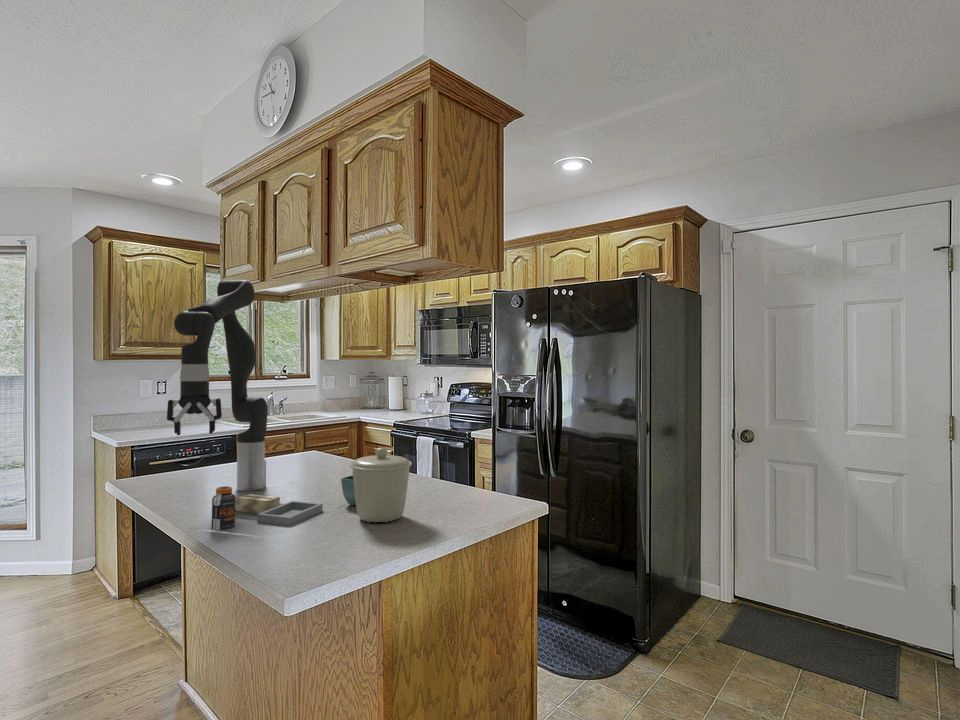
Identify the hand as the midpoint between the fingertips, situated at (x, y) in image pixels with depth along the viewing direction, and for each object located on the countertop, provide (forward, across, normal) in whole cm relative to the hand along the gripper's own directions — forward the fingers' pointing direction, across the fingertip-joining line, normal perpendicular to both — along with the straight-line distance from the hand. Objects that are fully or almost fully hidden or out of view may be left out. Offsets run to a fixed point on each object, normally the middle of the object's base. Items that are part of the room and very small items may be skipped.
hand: (194, 434), depth 163 cm
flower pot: (+25, -48, +1) cm, 54 cm away
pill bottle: (+25, -9, +14) cm, 30 cm away
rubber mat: (+25, -17, -1) cm, 30 cm away
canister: (+25, -52, +19) cm, 60 cm away
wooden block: (+24, -17, -1) cm, 30 cm away
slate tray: (+25, -27, +9) cm, 38 cm away
